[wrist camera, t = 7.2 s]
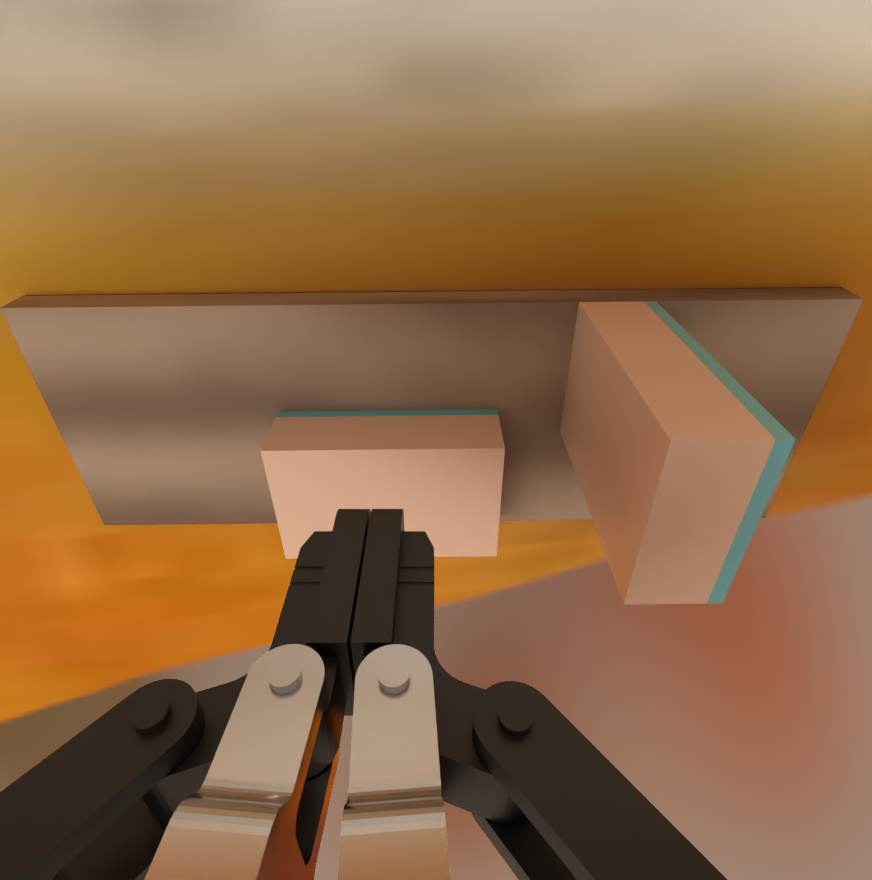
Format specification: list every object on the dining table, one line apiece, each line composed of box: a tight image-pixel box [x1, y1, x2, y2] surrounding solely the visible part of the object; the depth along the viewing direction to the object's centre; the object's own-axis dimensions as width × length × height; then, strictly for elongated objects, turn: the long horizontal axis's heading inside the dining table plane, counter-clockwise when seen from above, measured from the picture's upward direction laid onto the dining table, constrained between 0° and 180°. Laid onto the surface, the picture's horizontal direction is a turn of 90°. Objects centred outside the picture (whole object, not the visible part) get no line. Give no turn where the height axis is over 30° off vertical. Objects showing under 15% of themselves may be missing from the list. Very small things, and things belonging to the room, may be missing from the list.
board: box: [0, 287, 864, 525], centre depth 20 cm, size 10×28×1 cm, turn 90°
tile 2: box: [560, 301, 796, 604], centre depth 15 cm, size 5×2×8 cm, turn 0°
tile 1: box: [261, 409, 505, 558], centre depth 20 cm, size 5×2×8 cm
